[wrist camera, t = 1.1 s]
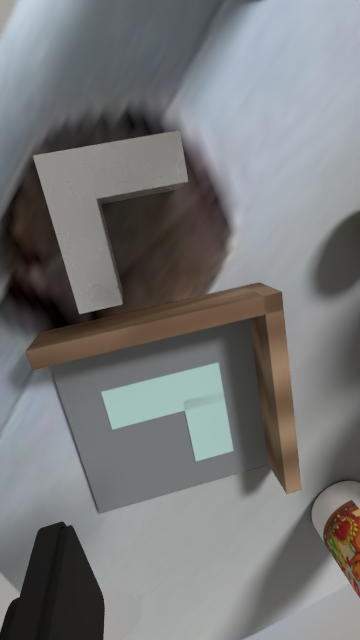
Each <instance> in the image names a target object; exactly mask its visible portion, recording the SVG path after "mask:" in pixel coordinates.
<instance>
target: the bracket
mask: <svg viewBox="0 0 360 640" xmlns="http://www.w3.org/2000/svg"><path fill="white" fill-rule="evenodd" d="M33 158H34V161H35V165H36V168H37V172H38V175H39V178H40V182H41V185H42V189H43V192H44V195H45V199H46V202H47V206H48V209H49V212H50V216H51V219H52V223H53V226H54V229H55V233H56V236H57V240H58V243H59V246H60V250H61V253H62V257H63V260H64V264H65V267H66V270H67V274H68V277H69V281H70V284H71V287H72V291H73V294H74V298H75V301H76V304H77V308H78V311H79V314H82V313H87V312H91V311H96V310H100V309H105V308H109V307H114V306H118V305H122V304H123V290H122V286H121V282H120V278H119V274H118V270H117V265H116V261H115V257H114V253H113V249H112V245H111V241H110V237H109V233H108V229H107V225H106V221H105V217H104V213H103V209H102V205H101V204H105V203H110V202H115V201H121V200H126V199H131V198H136V197H141V196H147V195H152V194H157V193H162V192H168V191H173V190H176V189H178V188H179V187H181V186H182V185H184V184H185V183H187V182H188V177H187V171H186V165H185V159H184V153H183V147H182V141H181V135H180V130H178V131H173V132H167V133H161V134H155V135H149V136H144V137H138V138H132V139H126V140H120V141H114V142H109V143H103V144H97V145H91V146H85V147H80V148H74V149H68V150H62V151H56V152H51V153H45V154H39V155H33Z"/></svg>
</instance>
